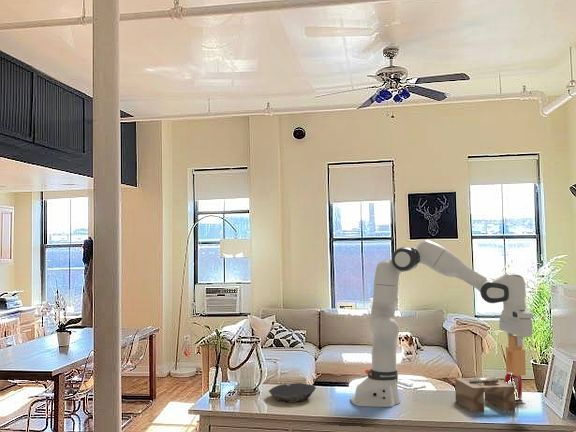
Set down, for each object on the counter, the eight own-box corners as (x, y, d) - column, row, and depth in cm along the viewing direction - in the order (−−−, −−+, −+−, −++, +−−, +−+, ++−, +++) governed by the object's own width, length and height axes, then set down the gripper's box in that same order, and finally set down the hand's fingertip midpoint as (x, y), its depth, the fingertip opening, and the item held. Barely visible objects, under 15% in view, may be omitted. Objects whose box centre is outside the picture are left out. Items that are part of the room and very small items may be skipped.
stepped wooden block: (514, 375, 225) (513, 337, 226) (506, 372, 231) (505, 335, 232) (525, 375, 225) (524, 337, 226) (517, 371, 232) (516, 335, 233)
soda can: (507, 400, 246) (506, 374, 247) (504, 396, 253) (503, 370, 254) (523, 401, 245) (523, 374, 245) (520, 397, 252) (519, 371, 252)
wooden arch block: (473, 411, 230) (472, 384, 231) (455, 400, 247) (455, 374, 247) (514, 410, 232) (514, 382, 233) (494, 398, 249) (494, 373, 250)
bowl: (313, 406, 238) (312, 394, 238) (264, 406, 242) (264, 395, 242) (319, 393, 259) (318, 382, 260) (274, 393, 263) (274, 382, 264)
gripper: (495, 308, 240) (495, 340, 239) (520, 314, 219) (521, 349, 219) (508, 308, 240) (509, 340, 240) (535, 314, 220) (535, 349, 219)
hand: (515, 344), depth 229 cm, fingers closed on stepped wooden block, 4 cm apart
